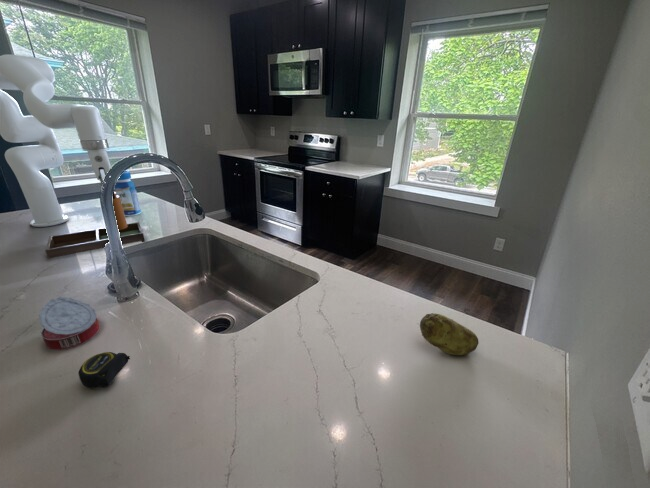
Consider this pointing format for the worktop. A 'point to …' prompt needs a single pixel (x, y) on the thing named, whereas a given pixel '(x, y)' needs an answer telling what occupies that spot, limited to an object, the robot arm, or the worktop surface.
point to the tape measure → (102, 369)
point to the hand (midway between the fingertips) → (109, 196)
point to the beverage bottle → (127, 195)
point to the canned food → (67, 323)
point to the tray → (89, 240)
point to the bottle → (119, 212)
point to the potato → (448, 334)
